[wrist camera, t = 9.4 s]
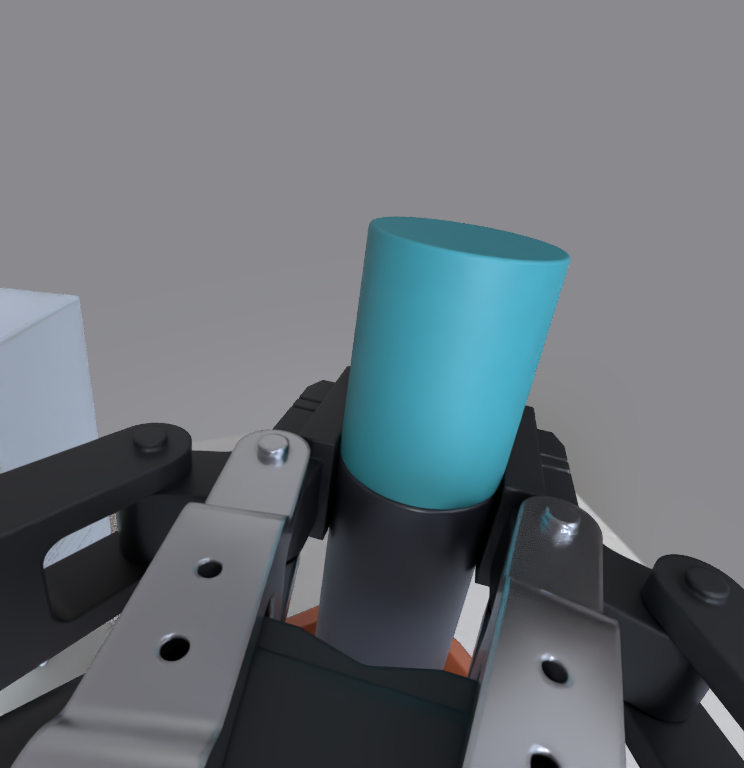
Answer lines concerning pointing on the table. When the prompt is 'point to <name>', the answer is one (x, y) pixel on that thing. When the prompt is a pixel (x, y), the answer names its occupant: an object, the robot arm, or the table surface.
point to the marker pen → (429, 428)
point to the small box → (45, 390)
